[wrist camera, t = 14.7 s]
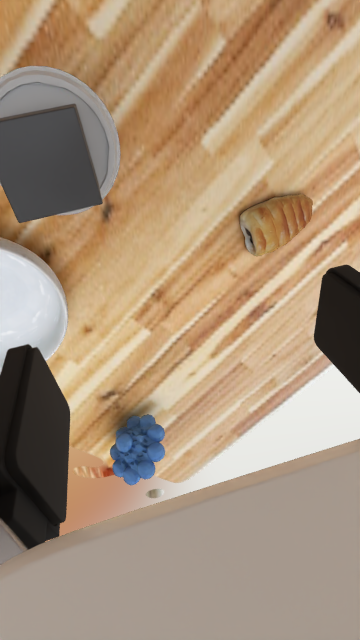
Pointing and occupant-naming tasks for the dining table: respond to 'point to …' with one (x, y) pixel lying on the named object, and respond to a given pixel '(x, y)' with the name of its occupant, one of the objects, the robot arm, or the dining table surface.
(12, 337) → the cereal bowl
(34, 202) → the black block
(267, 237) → the pastry
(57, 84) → the disposable coffee cup
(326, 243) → the dining table surface
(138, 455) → the grapes
